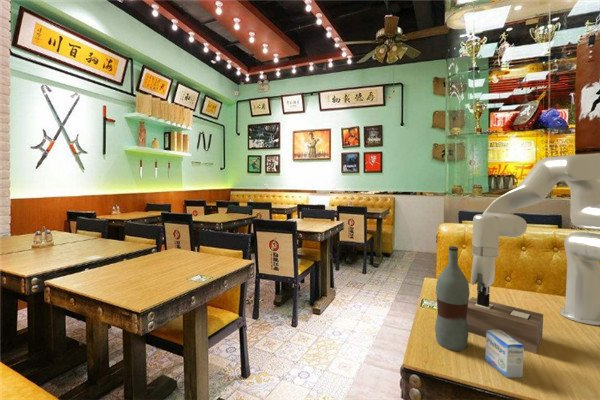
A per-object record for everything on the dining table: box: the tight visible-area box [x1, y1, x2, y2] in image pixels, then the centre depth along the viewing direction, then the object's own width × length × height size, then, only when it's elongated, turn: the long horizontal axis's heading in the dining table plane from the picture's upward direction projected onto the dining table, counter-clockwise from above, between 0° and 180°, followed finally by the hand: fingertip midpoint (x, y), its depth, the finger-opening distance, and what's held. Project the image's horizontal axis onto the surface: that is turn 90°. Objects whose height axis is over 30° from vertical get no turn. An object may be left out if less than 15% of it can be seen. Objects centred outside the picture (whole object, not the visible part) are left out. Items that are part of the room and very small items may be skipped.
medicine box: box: [484, 330, 525, 379], centre depth 78 cm, size 8×4×9 cm, turn 4°
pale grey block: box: [510, 310, 530, 320], centre depth 92 cm, size 4×4×8 cm
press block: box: [467, 296, 544, 354], centre depth 96 cm, size 12×20×8 cm, turn 44°
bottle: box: [434, 245, 470, 352], centre depth 89 cm, size 9×9×30 cm
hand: (483, 304), depth 99 cm, fingers closed
